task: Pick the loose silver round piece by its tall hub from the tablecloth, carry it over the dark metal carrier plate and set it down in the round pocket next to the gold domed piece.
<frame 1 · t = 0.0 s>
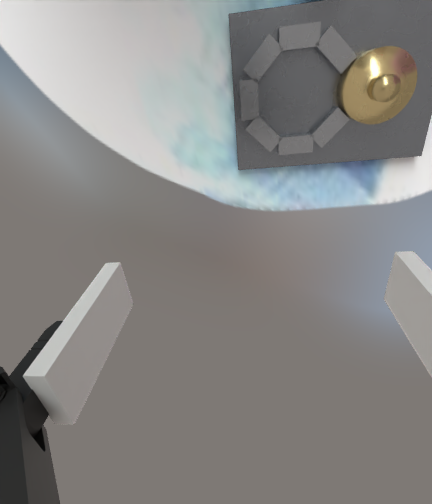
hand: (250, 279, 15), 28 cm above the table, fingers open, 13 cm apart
gold domed piece: (370, 86, 32), resting on carrier plate
carrier plate: (329, 90, 34), on the table
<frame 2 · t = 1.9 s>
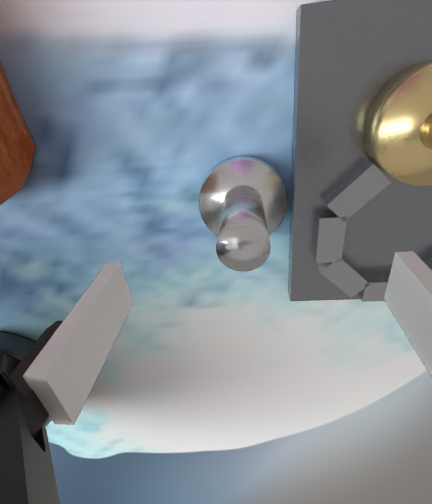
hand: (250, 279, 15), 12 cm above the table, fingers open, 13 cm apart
gold domed piece: (419, 122, 20), resting on carrier plate
silver round piece: (242, 198, 25), on the table
carrier plate: (396, 175, 23), on the table
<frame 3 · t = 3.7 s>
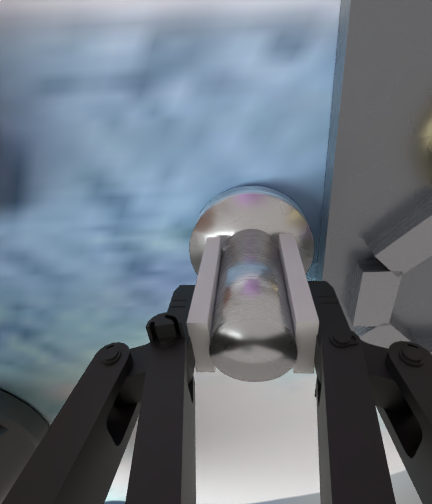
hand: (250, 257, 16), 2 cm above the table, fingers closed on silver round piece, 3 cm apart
silver round piece: (250, 241, 18), on the table, touching gripper
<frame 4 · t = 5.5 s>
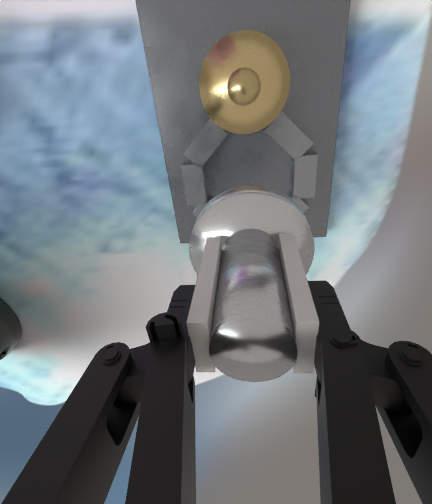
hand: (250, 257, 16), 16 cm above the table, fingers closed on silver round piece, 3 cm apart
gold domed piece: (244, 85, 25), resting on carrier plate
silver round piece: (250, 241, 18), point 14 cm above the table, touching gripper
carrier plate: (246, 132, 28), on the table
when the fingers open (5 cm above the table, at t = 7.7 s): silver round piece drops 1 cm, resting on carrier plate.
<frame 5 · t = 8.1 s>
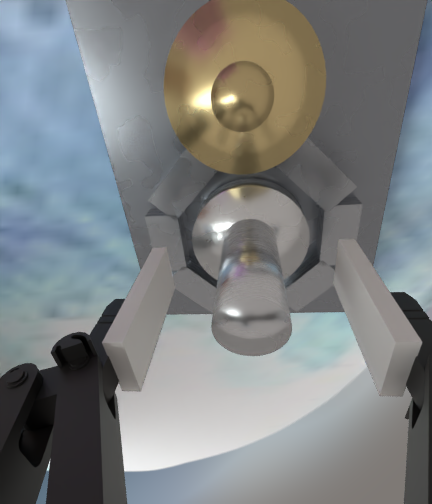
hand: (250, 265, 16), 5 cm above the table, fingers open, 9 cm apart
gold domed piece: (243, 92, 15), resting on carrier plate
silver round piece: (249, 231, 19), point 2 cm above the table, touching carrier plate
carrier plate: (246, 163, 18), on the table
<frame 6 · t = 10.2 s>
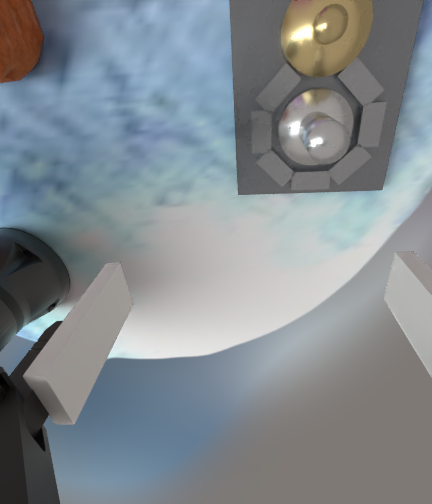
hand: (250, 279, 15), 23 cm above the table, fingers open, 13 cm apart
gold domed piece: (321, 30, 26), resting on carrier plate
silver round piece: (312, 127, 30), point 2 cm above the table, touching carrier plate
carrier plate: (314, 82, 30), on the table
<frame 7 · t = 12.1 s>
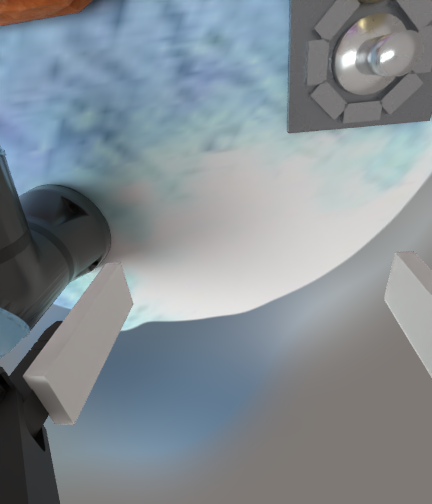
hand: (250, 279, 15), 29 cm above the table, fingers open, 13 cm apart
silver round piece: (366, 56, 32), point 2 cm above the table, touching carrier plate
carrier plate: (367, 12, 31), on the table
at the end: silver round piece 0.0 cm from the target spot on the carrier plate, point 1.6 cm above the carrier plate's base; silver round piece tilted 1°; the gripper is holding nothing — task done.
